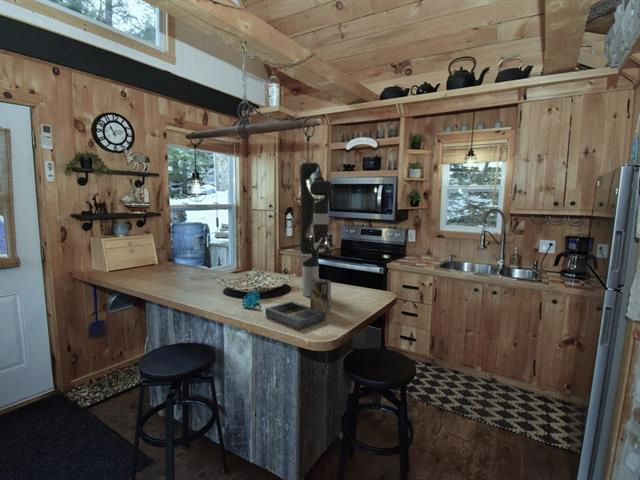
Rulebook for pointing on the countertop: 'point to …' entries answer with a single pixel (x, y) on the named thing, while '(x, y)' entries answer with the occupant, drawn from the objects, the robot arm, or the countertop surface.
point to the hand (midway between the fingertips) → (320, 256)
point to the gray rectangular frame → (296, 315)
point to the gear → (251, 300)
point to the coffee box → (320, 295)
